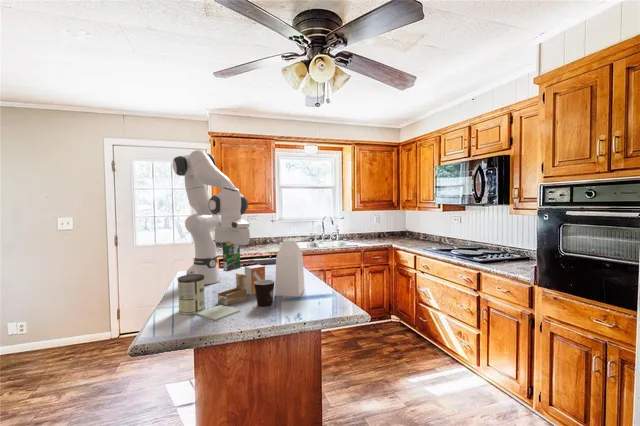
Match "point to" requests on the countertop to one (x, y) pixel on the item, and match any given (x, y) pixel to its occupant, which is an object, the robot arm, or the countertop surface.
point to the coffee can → (191, 294)
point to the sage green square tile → (218, 312)
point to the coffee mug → (264, 292)
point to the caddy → (235, 291)
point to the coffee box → (230, 257)
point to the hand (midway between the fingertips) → (231, 253)
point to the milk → (289, 270)
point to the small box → (254, 276)
